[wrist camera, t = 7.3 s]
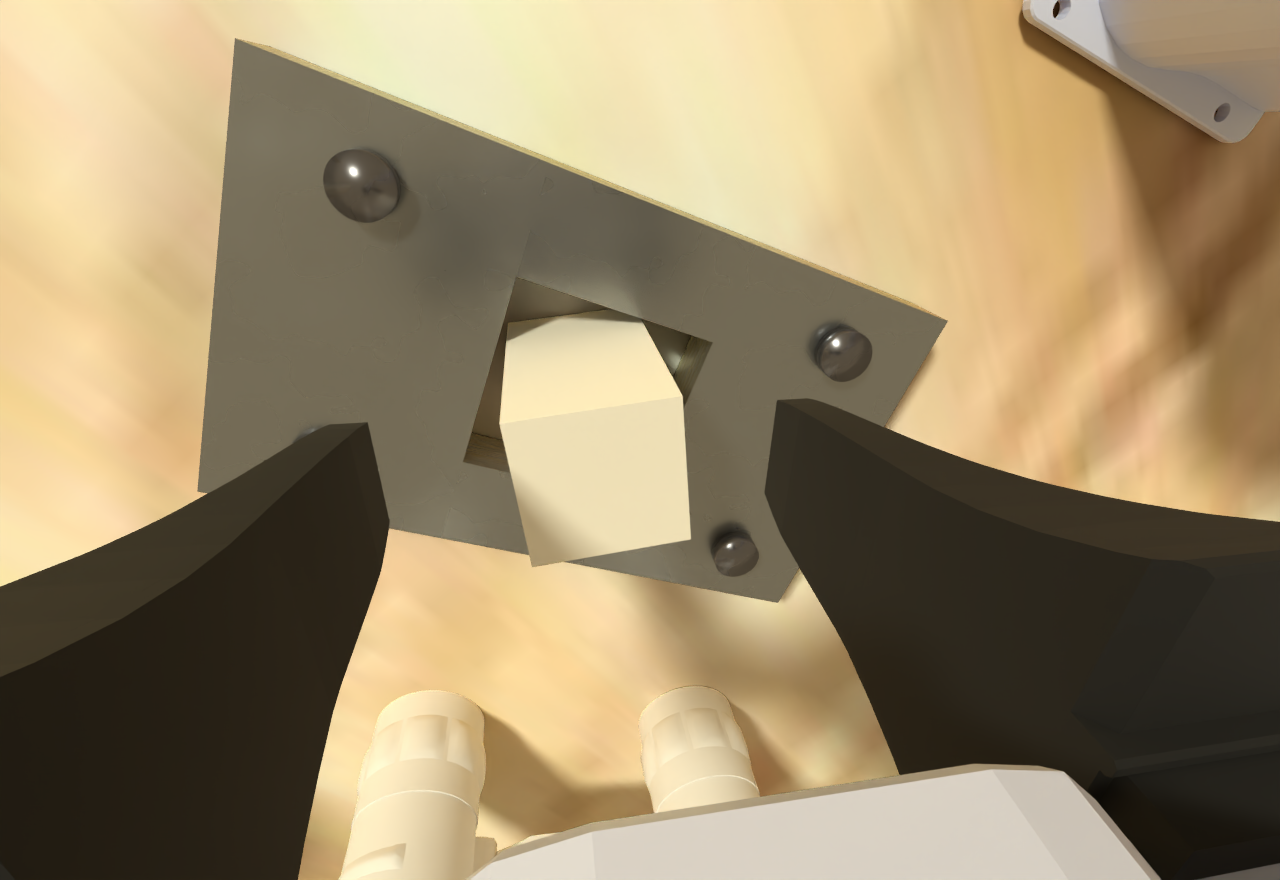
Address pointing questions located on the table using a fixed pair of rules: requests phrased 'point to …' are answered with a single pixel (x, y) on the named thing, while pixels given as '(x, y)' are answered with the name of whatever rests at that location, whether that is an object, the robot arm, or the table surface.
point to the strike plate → (503, 315)
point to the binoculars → (456, 765)
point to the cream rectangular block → (593, 437)
